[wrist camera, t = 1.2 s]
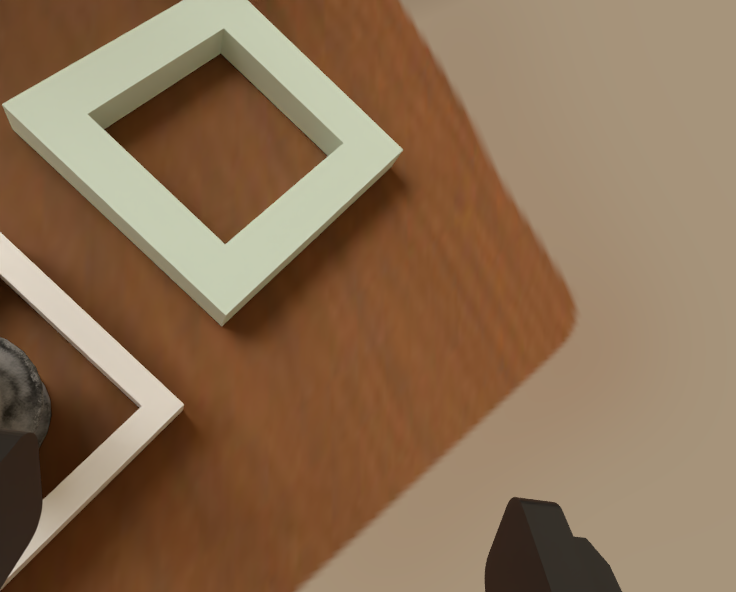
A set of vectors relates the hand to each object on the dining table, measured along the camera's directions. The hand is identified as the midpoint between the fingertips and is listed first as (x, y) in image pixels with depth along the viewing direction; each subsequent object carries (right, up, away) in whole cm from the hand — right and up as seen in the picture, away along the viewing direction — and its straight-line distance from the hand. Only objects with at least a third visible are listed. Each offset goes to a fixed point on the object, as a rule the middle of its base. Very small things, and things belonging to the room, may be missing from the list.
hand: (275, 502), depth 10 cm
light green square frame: (-6, +11, +21) cm, 25 cm away
